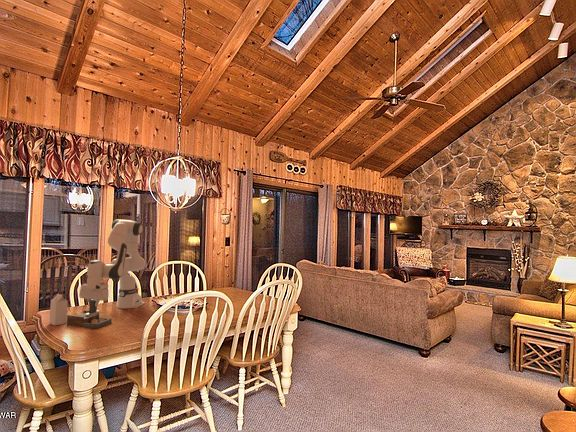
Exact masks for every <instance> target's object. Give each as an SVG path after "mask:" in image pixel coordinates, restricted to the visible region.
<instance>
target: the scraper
mask: <svg viewBox="0 0 576 432" xmlns="http://www.w3.org/2000/svg"><path fill="white" fill-rule="evenodd" d="M95 303H96V300H94V299H91V300H90V306H89V308H88V310H89V313H87V314H86V315H85V317H91V316H94V315H97V314H99V315H100V312H101V311H100V310H98V309H97V308H98V306H94V304H95Z"/></svg>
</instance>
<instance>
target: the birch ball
mask: <svg viewBox="0 0 576 432" xmlns="http://www.w3.org/2000/svg"><path fill="white" fill-rule="evenodd" d="M99 317H100V318H99V319H98V322H102V321H105V318H106V317H104V316H99Z"/></svg>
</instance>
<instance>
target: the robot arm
mask: <svg viewBox="0 0 576 432" xmlns="http://www.w3.org/2000/svg"><path fill="white" fill-rule="evenodd" d="M142 232H143V224H142V223H141V222H139V221H135V220H132V219H131V220H129V219H122V218H121V219H115V220H114V221H112V223H111V230H110V233H109V234H108V235H109V236H108V238H107V244H108V245H109V247H110V248H111V249H113V250H115V251H116V252H117V255H116V258H113V259H112V260H111V262H110V263H105V262H103V261H102V260H101V259H92V260H90V261H89V262H88V265H87V271H86V272H87V273H86V275H87V278H86V283H83V284H81V285H80V289H79V290H80V291H79V296H78V297H79V298H80V299H86V302H87V303H88V306H89V307H90V300H93V299H94V300H96V303H95V304H94V306H97V307H99V303H100V301H104V302H105V301H108V299H109V294H110V293H109V284H108V283H105V282H104V281H103V279H110V280H115V281H116V280H119V289H118V295H117V302H116V304H115V306H116V308H117V309H135V308H139V307H141V306H143V305H144V304H145V303H146V302H145V301H143V297H142V296H141V295H140V294H139V293H137V291H139V288H138V287H136V278H135V277H134V276H132V275H131V274H129V273H128V272H138V271H141V270H144V269H145V267H146V264H147V263H146V260H145V258H144V257H142V256H141V254H140V252H139V238H140V237H139V235H141V234H142ZM127 255H129V256H128V257H126V256H127Z"/></svg>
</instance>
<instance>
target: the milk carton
mask: <svg viewBox="0 0 576 432" xmlns="http://www.w3.org/2000/svg"><path fill="white" fill-rule="evenodd" d="M68 302H69V301H68V299H67V298H64V297H63V295H62V294H59V293H56V295H55V297H53V298H52V299H51V300H50V308H49V309H50V310H49V325H52V326H58V325H59V326H60V325H64V324H67V315H68V306H69V305H68V304H69V303H68Z"/></svg>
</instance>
